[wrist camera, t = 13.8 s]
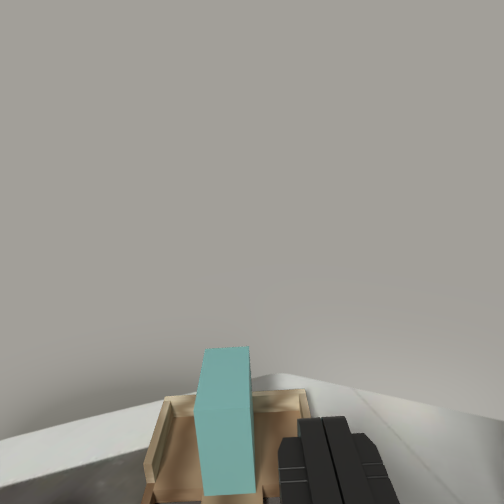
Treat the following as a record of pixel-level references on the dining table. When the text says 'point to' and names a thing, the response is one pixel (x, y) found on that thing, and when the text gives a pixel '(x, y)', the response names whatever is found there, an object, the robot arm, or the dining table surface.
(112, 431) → the dining table surface
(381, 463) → the robot arm
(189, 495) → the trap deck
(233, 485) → the teal box
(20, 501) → the dining table surface
